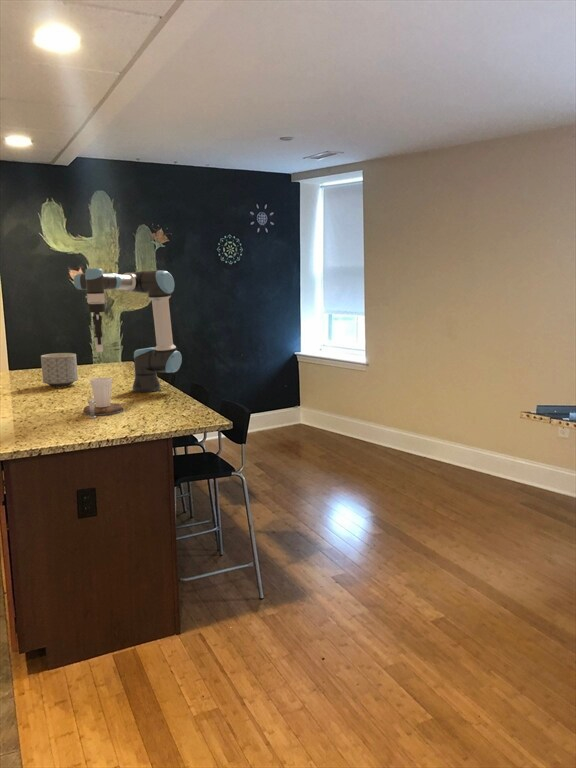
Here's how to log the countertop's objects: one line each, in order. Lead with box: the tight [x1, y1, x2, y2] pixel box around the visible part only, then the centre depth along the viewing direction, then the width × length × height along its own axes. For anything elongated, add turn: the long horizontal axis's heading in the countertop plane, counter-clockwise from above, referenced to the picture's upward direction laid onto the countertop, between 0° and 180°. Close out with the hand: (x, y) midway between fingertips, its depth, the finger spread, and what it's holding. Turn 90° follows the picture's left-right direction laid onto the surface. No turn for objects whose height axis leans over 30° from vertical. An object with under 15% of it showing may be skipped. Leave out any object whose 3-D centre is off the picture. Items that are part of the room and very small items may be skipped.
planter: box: [40, 352, 79, 388], centre depth 351 cm, size 19×19×18 cm
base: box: [82, 407, 124, 417], centre depth 282 cm, size 18×18×1 cm
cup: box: [89, 376, 113, 407], centre depth 280 cm, size 10×10×13 cm
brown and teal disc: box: [83, 402, 123, 414], centre depth 283 cm, size 17×22×4 cm
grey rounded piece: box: [87, 396, 98, 419], centre depth 269 cm, size 4×4×9 cm
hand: (99, 350), depth 277 cm, fingers open, 13 cm apart
